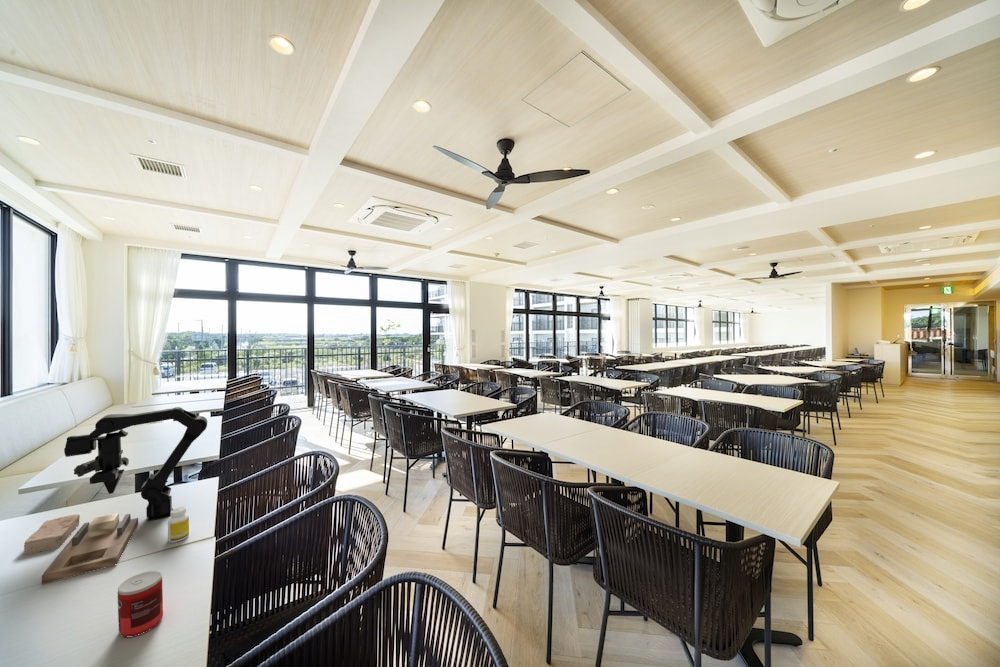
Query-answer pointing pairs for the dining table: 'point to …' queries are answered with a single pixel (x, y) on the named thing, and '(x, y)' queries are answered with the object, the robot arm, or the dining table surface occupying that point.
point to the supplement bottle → (178, 525)
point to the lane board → (90, 551)
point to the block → (103, 525)
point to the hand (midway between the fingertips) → (111, 493)
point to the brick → (51, 534)
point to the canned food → (140, 603)
